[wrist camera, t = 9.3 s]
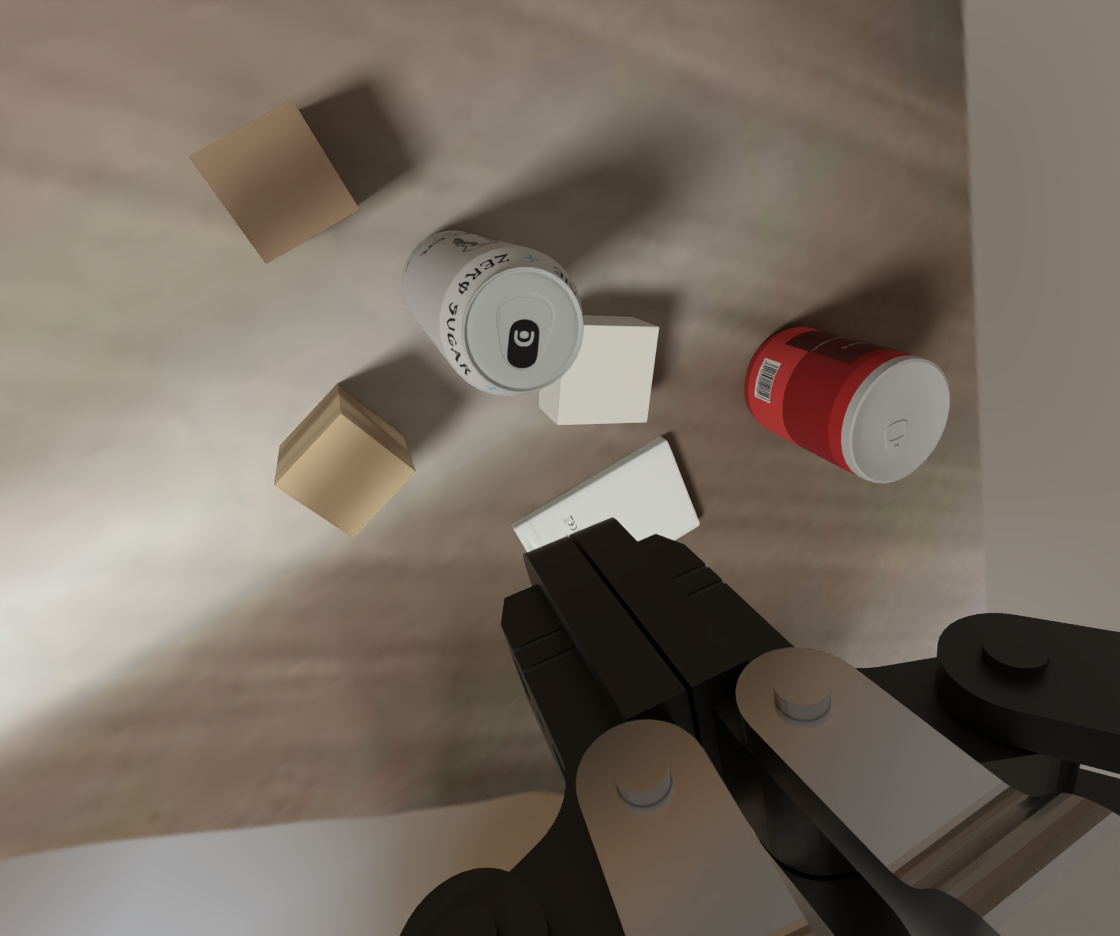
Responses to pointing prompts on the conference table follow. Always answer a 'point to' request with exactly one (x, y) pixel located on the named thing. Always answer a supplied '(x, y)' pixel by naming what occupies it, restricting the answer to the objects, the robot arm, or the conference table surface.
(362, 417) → the oak block
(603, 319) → the pale grey block
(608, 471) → the external hard drive
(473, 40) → the conference table surface
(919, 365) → the canned food
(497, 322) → the energy drink can
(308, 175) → the walnut block
